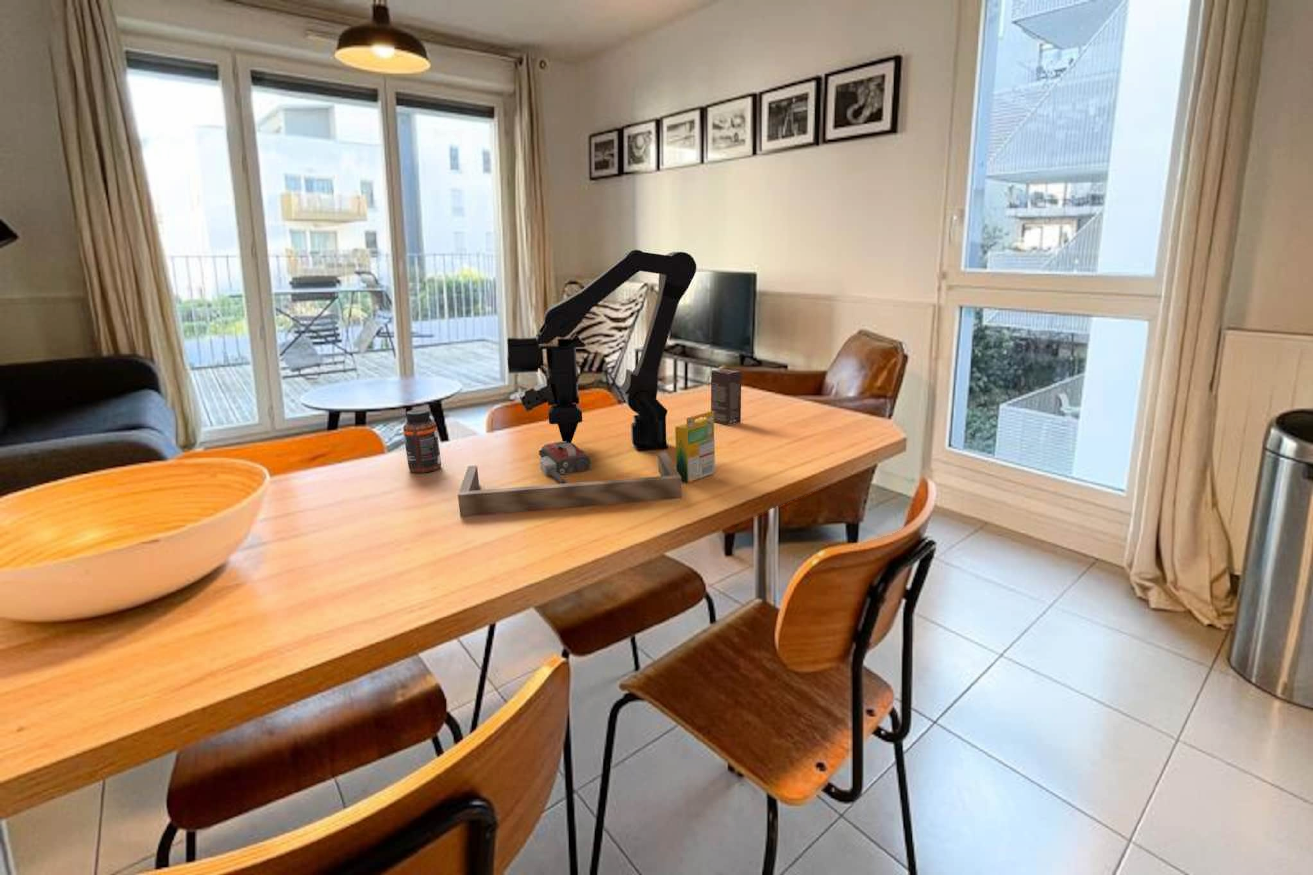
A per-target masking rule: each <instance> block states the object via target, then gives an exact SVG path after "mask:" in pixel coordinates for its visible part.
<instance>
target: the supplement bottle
mask: <svg viewBox="0 0 1313 875" xmlns="http://www.w3.org/2000/svg"><path fill="white" fill-rule="evenodd" d="M406 419H407V421H406V423H405V424H404V425H403V427H402V429H403V438H404V439H403V440H404V445H405V453H406V460H407V466H408V470H409V471H410V472H412V473H416V474H417V473H418V474H424V473H430V472H431V473H432V472H434V471H436V470H439V469H441V466H442V459H441V452H440V445H439V444H440V442H439V435H438V429H437V428H438V427H437V423H436V421H434V420H432V419H431V415H430V410H429V409H426V408H415V409H412V410H407V412H406Z"/></svg>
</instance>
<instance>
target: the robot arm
mask: <svg viewBox="0 0 1313 875" xmlns="http://www.w3.org/2000/svg"><path fill="white" fill-rule="evenodd" d="M639 272H644V273H649V274H650V273H651V274H658V294H657V300H656V303H655V306H654V309H653V313H652V316H651V320H650V322H649V326H648V330H647V333H646V337H645V339H644V343H643V346H642V350H641V353H640V357H639V359H638V363H637V364H636V366H635V368H634V369H633V370H630V369H628V368H627V369H626V370H625V378H624V382H622V385H621V386H620V388H621V390H622V397H623V400H624V401H625V403H626V404H627V405H628V408H629V409H631V411H633V412H634V413H635V414H636V415H635V414H634V415H633V422H631V424H630V431H631V443H632V445H633V446H634V447H635V450H636V451H644V450H645V451H646V450H647V451H648V450H660V449H668V448H669V445H668V443H667V413H668V410H667V409H666V407H665V406H664V405H663V404H662V403H661V402H660V401H659V400H658V399H657V397H658V396H657V395H658V389H659V368H660V365H661V362H662V358H663V356H664V352H665V350H666V345H667V343H668V340H669V336H670V332H671V329H672V326H673V323H674V319H675V316H676V313H677V310H678V306H679V303H680V301H681V300H682V298H683V297H684V295H685V293H686V292H687V290H688V288H689V287H690V285H691V282H692V280H694V277H695V274H696V272H697V263H696V261H695V259H694V257H693V256H692V255H691V254H690V253H687V252H685V251H684V252H683V251H673V252H669V253H667V254H666V255H665V254H660V253H653V252H652V253H651V252H646V251H642V250H639V249H631V250H629V251H627V252H626V253H625V254H624V256H622V257H621V259H619V260H618V261H617V262H615V263H614V264H613V265H611V266H610V267H609V268H608V269H606V270H604V271H603V272H602V273H601V274H600V275H599V276H597V277H596V278H594V279H593V280H592V281H591V282H590V283H588V284H587V285H586V286H585V287H583V288H582V289H581V290H580V291H578V292H576V293H575V294H572V295H570V296H568V297H566V298H563V299H562V300H559V301H558V302H556V303H554V304H552V305H551V306H549V307H548V308H547V309H546V310H545V312H544V315H543V324H542V326H541V328H539V330H538V331H536V334H535V337H534V336H533V337H513V336H512V337H507V340H506V341H507V368H508V374H523V373H538V372H539V369H541V367H544V352H543V350H545V352H546V353H545V354H546V370H547V375H546V379H545V381H546V382H543V383H540V384H537V385H535V386H533V387H530V388H528V389H525V390H524V391H521V392H520V393H519V396H518V397H519V399H520V402H521V405H522V406H523V407H524V410H525V411H526V412H529V411H532V410H533V409H534V408H537V407H540V406H541V405H544V404H546V403H547V405H548V406H550V408H549V409H548V413H547V414H548V423H549V425H557V426H558V427H557V428H558V430H559V434H560V437H561V442H562V441H567V442H570V443H573V439H574V436H575V433H576V430H577V428H578V425H579V424H580V423H583V410H582V408H581V407H580V406H579V404H580V398H579V380H578V379H579V377H578V369H577V368H578V365H577V349H576V348H585V347H586V346H587V345H586V343H585V341H584V340H582V339H581V338H580V337H579V336H578V334H577V333H574V334H573V336H572V337H570V338H565V337H567V336H569V335H571V334H572V333H573V331H575V330H576V328H577V327H578V326H579V325H580V324H581V322H582V321H583V320H584V319H585V317H586V316H587V314H588V313H589V312H590V311H591V310H592V309H593V308H594V307H595V306H597V305H599V303H600V302H602V301H603V300H604V299H606V298H607V297H608V296H609V295H611V294H612V293H614V291H616V290H617V289H618V288H619V287H621V286H622V285H624V284H625V283H626V282H627V281H628V280H630V279H631V278H632V277H633V276H634V275H636V274H637V273H639ZM555 339H556V342H555V343H554V342H553V341H554V340H555ZM551 342H553V343H551Z"/></svg>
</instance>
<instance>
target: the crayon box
mask: <svg viewBox="0 0 1313 875" xmlns="http://www.w3.org/2000/svg"><path fill="white" fill-rule="evenodd" d="M674 428H675V430H674V431H675V432H674V433H675V434H674V435H675V436H674V437H675V458H676V459H675V462H676V465H675V468H676V469H677V471H678V473H679V474H680V476H681V478H682V483H686V484H690V483H691V482H694V481H696V480H700V479H702V478H705V477H707V476H709V475H710V476H711V475H714V474H715V473H716V467H715V466H716V460H715V453H716V452H715V450H716V449H715V422H714V411H711V410H710V411H708V412H704V413H700V414H698V415H694V416H691V417H687V418H686V423H685V424H680V425H676V426H675V427H674Z"/></svg>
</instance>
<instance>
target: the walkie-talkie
mask: <svg viewBox="0 0 1313 875" xmlns="http://www.w3.org/2000/svg"><path fill="white" fill-rule="evenodd" d="M538 455H539V456H540V457H541V459H540V461H539V462H540V464H539V465H540V470H541V471H542V472H543V474H544V475H545V476H546V477H547V476H552V477H554V478H553V479H555V480H556V481H557V482H559V484H567V481H566V479H564V477H563V476H562V475H565V474H569V473H570V472H571V473H576V472H583V471H588V470H590V469H591V458H590V457H591V456H589V455H588V454H587V453H586V452H585V451H583V450H582V449H580V448H579V446H577V445H575V444H574V443H573V442H571V443H570V442H567V441H562V440H561V441H555V442H552V443H546V444H544V445H543V446H542V447H541V450H539V451H538Z"/></svg>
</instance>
